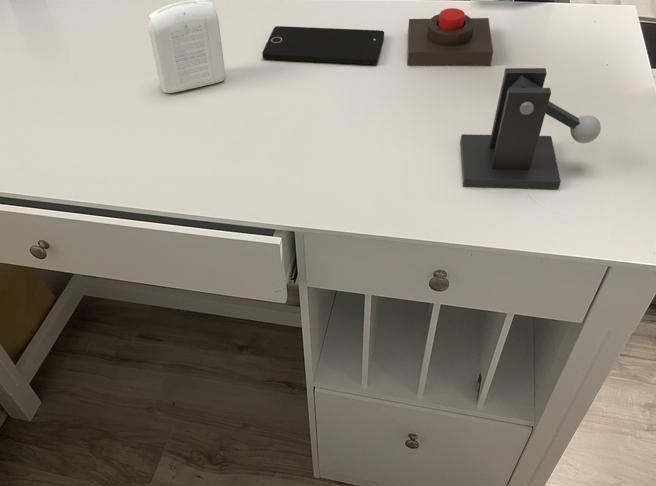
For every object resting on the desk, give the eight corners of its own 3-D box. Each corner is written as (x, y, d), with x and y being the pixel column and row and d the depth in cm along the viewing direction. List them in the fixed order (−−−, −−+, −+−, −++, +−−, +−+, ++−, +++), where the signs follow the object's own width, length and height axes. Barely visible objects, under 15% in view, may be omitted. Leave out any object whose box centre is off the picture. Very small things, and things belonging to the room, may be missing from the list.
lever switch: (583, 136, 80) (604, 117, 78) (587, 153, 78) (609, 133, 76) (503, 91, 77) (523, 69, 75) (505, 107, 75) (526, 85, 73)
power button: (462, 19, 100) (464, 7, 99) (463, 31, 98) (465, 19, 96) (438, 19, 100) (439, 8, 99) (438, 31, 98) (439, 20, 97)
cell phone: (274, 31, 110) (274, 25, 109) (384, 35, 106) (385, 30, 105) (261, 59, 104) (261, 53, 104) (376, 65, 100) (377, 59, 99)
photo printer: (222, 68, 104) (211, -11, 95) (229, 82, 101) (218, 2, 92) (158, 83, 103) (140, 5, 93) (163, 98, 100) (146, 18, 91)
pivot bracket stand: (549, 143, 85) (574, 58, 76) (558, 189, 79) (586, 103, 70) (460, 141, 87) (474, 58, 78) (462, 186, 81) (478, 102, 72)
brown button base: (486, 31, 104) (490, 6, 101) (490, 65, 98) (495, 40, 95) (407, 31, 106) (410, 7, 103) (407, 65, 100) (409, 40, 97)
